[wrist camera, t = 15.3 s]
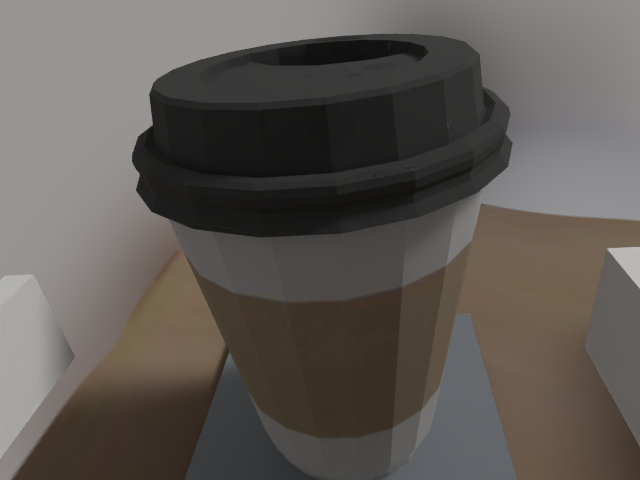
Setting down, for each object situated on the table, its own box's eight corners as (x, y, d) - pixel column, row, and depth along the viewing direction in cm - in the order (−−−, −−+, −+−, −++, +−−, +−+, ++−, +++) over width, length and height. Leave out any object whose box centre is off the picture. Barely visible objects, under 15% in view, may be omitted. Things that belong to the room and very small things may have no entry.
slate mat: (469, 321, 26) (469, 313, 26) (543, 587, 15) (546, 578, 15) (242, 326, 28) (240, 319, 28) (160, 570, 17) (155, 561, 17)
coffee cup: (476, 335, 24) (503, 18, 17) (490, 576, 15) (565, 108, 8) (270, 318, 27) (214, 41, 20) (174, 513, 18) (-2, 127, 10)
